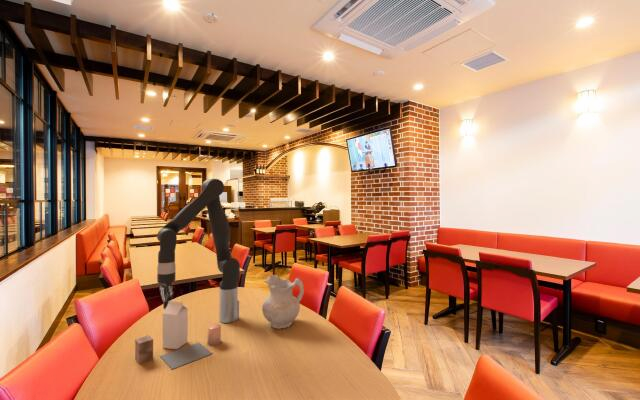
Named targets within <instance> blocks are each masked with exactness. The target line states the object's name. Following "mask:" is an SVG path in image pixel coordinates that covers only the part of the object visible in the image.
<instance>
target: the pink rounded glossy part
mask: <svg viewBox="0 0 640 400" xmlns="http://www.w3.org/2000/svg"><path fill="white" fill-rule="evenodd" d="M221 332H222V325H221V324H216V323H215V324H210V325H209V326H207V343H206V344H207V345H208V346H211V347H213V346H214V347H215V346H218V345H220V344H221V343H222V333H221Z"/></svg>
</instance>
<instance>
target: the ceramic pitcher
mask: <svg viewBox="0 0 640 400" xmlns="http://www.w3.org/2000/svg"><path fill="white" fill-rule="evenodd" d="M264 282H265V283H266V284H267V285H268V288H269V292H270V294H269V296H268V297H267V298H265V299H264V301H263V303H262V310H261V311H262V314H263V316H264V319H265V320H267V321H268V322H269V323H270V324H269V326H270V327H271V328H273V329H275V328H276V330H281V328H283V329H287V328H286V327H288V328H290V327H289V326H290V325H291V324H292V323H293V321H295V320H296V319H297V317H298V316H299V314H300V313H299V312H300V308H301V303H300V302H301V301H302V298H303V296H304V293H305V292H304V291H305V290H304V287H305V286H304V284H303V281H302V279H301V278H300V277H296V278H294V281H293V282H291V281H290V280H289V279H288V278H280V276H279V275H275V274H271V275H269V276H268V277H267V278H266V279H265V280H264ZM297 286H298V287H299V292H298V295H297V297H296V296H294V295H293V289H294V287H297Z"/></svg>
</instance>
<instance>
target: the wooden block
mask: <svg viewBox="0 0 640 400" xmlns="http://www.w3.org/2000/svg"><path fill="white" fill-rule="evenodd" d="M134 342H135V344H134V346H135V347H134V351H135V352H134V354H135V355H134V358H135V361H136V363H138V365H140V364H143V363H146V362H149V361H152V360H153V359H154V339H153V338H152V336H151V335H149V334H148V335H146V336H142V337H138V338H135V341H134Z"/></svg>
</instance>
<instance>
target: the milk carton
mask: <svg viewBox="0 0 640 400" xmlns="http://www.w3.org/2000/svg"><path fill="white" fill-rule="evenodd" d="M188 310H189V308H188V307H186V306H185V305H184V303H183V302H181V301H173V300H170V301H168V305H167V307H166V308H165V309H164V310H163V312H162V348H163V349H171V350H178V349H180V348H182V346H183V345H185V344H186V343H188V335H189V334H188V330H189V329H188V327H189V326H188V325H189V323H188V321H189V318H188V317H189V316H188V315H189V314H188Z"/></svg>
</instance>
